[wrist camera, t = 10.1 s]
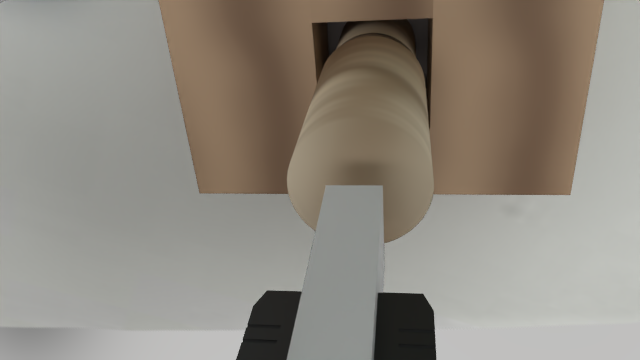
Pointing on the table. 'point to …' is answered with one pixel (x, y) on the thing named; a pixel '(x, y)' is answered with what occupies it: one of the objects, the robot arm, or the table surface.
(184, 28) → the seat board
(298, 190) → the beech leg
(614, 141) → the table surface
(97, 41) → the table surface
